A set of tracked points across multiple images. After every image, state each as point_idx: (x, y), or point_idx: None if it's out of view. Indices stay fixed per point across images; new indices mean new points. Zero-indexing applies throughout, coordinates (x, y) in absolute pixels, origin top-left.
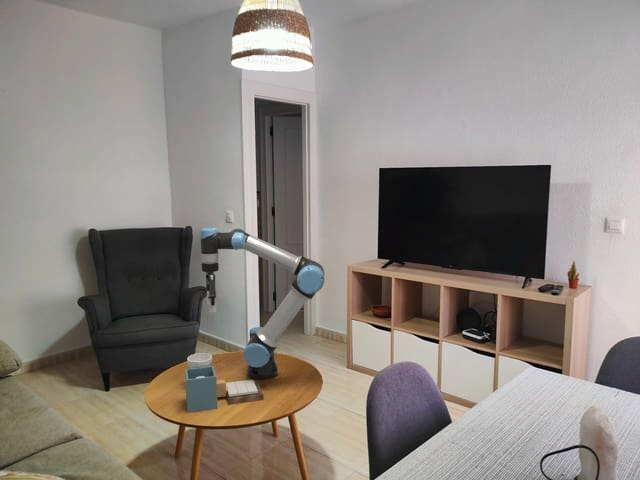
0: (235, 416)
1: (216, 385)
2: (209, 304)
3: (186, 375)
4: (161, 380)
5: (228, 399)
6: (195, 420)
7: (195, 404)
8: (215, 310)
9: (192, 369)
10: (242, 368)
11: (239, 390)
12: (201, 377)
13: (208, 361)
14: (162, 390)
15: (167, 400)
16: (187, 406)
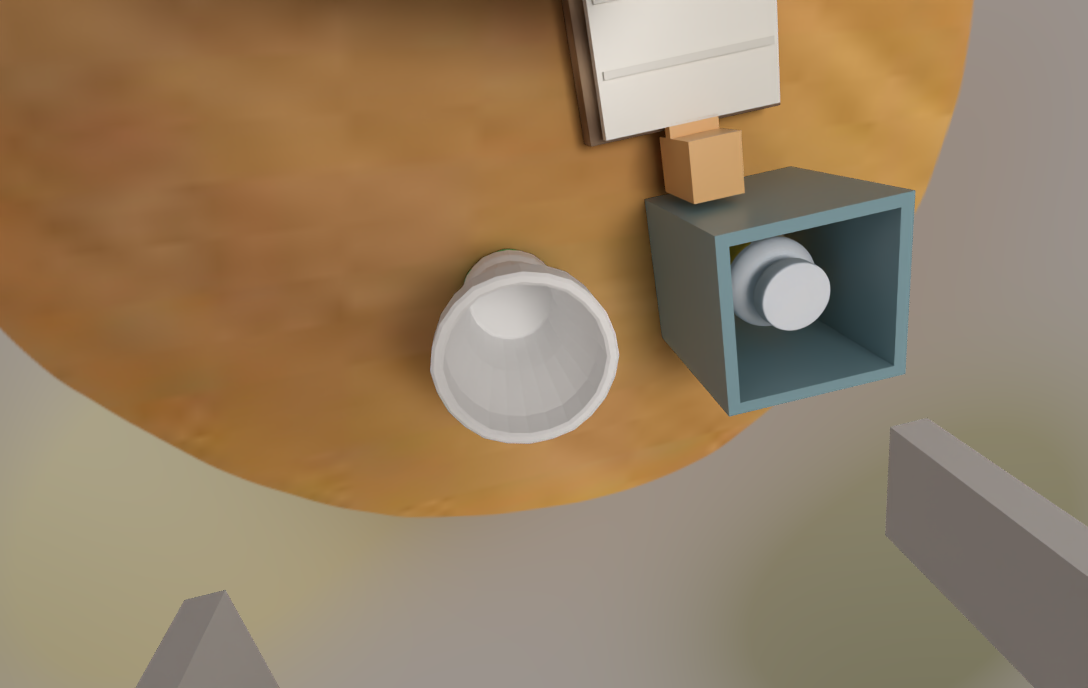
0: (903, 56)
1: (872, 183)
2: (257, 657)
3: (832, 388)
4: (412, 500)
5: (768, 106)
6: None
7: None
8: (953, 451)
9: (737, 371)
10: (204, 37)
11: (738, 33)
12: (783, 294)
13: (584, 287)
14: (534, 466)
15: (648, 419)
16: None
